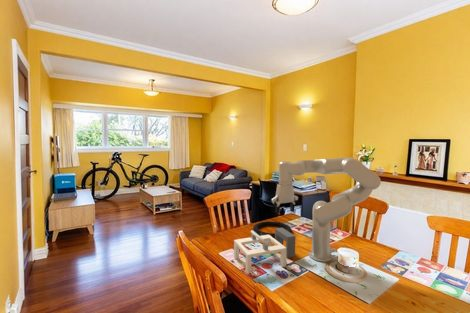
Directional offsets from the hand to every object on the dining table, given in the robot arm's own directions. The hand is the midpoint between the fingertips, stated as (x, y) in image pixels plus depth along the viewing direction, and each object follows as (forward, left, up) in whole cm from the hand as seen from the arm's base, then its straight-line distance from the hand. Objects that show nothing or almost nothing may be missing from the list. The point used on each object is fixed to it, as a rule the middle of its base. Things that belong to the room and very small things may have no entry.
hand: (284, 212), depth 143 cm
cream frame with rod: (+19, +5, -24) cm, 31 cm away
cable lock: (-8, -30, -25) cm, 40 cm away
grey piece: (0, 0, -24) cm, 24 cm away
